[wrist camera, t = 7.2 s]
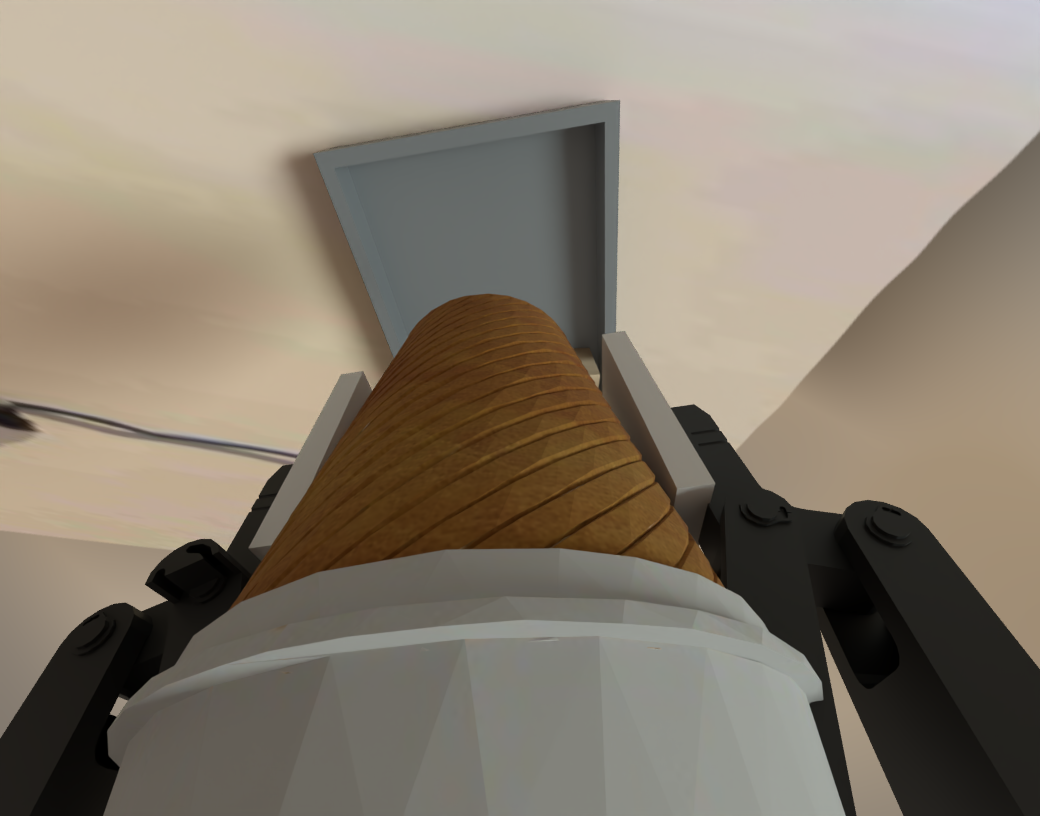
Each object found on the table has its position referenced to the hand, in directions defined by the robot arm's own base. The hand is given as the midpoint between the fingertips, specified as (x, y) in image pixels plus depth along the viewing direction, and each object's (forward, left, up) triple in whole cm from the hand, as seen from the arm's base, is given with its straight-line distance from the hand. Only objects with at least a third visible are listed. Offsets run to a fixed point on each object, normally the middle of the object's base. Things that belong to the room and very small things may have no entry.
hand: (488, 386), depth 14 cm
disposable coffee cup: (0, 0, -1) cm, 1 cm away
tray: (+4, 0, -17) cm, 18 cm away
